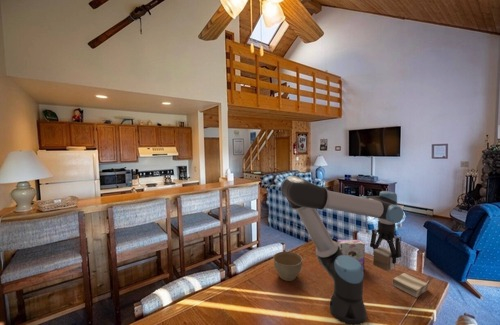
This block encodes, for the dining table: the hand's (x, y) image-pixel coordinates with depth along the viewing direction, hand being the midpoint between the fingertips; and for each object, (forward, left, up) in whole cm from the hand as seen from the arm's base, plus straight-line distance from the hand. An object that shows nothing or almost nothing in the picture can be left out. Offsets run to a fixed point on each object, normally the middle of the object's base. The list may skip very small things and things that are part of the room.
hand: (383, 265), depth 116 cm
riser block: (+12, -7, -13) cm, 19 cm away
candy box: (+3, +21, -12) cm, 24 cm away
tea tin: (0, 0, 0) cm, 0 cm away
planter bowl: (-35, +34, -12) cm, 51 cm away
